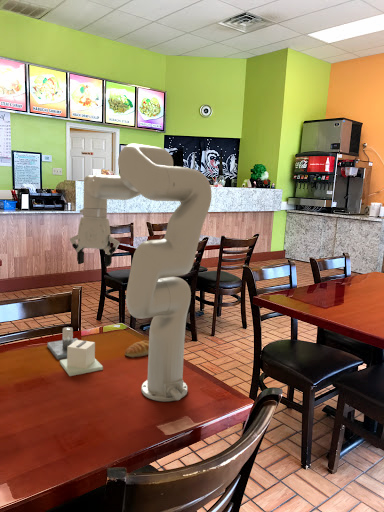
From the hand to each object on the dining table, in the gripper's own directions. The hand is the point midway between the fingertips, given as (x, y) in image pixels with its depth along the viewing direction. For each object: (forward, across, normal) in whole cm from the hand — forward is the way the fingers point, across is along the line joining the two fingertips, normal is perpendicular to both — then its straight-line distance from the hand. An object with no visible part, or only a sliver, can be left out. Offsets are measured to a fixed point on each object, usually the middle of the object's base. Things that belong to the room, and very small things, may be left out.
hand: (94, 264), depth 137 cm
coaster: (+28, +4, -17) cm, 33 cm away
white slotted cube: (+27, +4, -17) cm, 32 cm away
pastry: (+29, +17, -1) cm, 34 cm away
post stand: (+28, -6, -7) cm, 30 cm away
